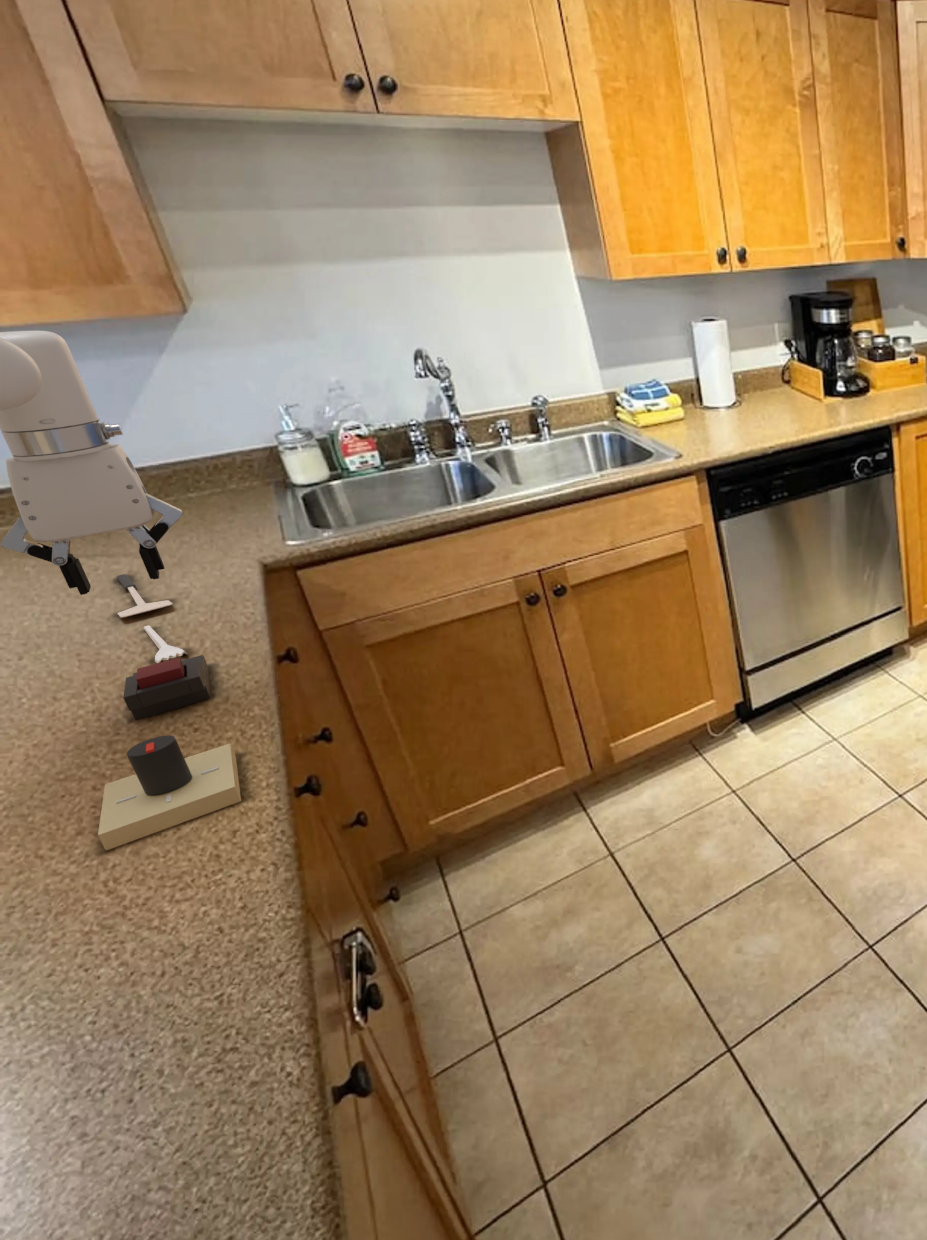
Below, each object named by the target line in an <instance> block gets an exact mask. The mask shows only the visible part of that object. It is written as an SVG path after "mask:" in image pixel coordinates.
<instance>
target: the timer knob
mask: <svg viewBox="0 0 927 1240" xmlns="http://www.w3.org/2000/svg"><path fill="white" fill-rule="evenodd" d="M126 756H127V758H128V760H129V763H130V765H131V766H132V769H133V771H134V773H135V774H136V775H137V777H138V779H139V781H140V783H141V786H142V788H143V790H144V792H145V794H146V795H149V796H156V795H161V794H165V793H168V792H171V791H174V790H176V789H178V788H180V787H182V786H184V785H185V784H187V783H188V782H189V781H190V780H191V779H192V774H191V772H190V770H189V768H188V765H187V763H186V761H185V759H184V758H185V756H184V754H183V752H182V749H181V748H180V745H179V743H178V741H177V739H176V737H175V736H174V735H170V734H169V735H161V736H160V735H159V736H156V737H152V738H149V739H147V740H144V741H141V742H139V743H136V744H135V745H134V746H133V745H132V747H130V748H129V749H128V750H127V752H126Z"/></svg>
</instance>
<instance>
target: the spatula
mask: <svg viewBox="0 0 927 1240" xmlns="http://www.w3.org/2000/svg"><path fill="white" fill-rule="evenodd" d="M116 579H117V581H119V583H120V584H121V586H122V587H123V589H124V590H128V592H129V593H130V595H131V597H132V598H133V601H134V602H135V604H136V605H134V606H132V607H130V608H127V609H124V610H122V611H119V612H117V613H116V614H117V615H118V616H119V618H121V619H122V618H127V617H131V616H134V615H138V614H143V613H146V612H151V611H154V610H157V609H162V608H165V607H169V606H172V605H174V603H173V602H172V601H170V600H169V599H167V600H166V599H165V600H159V601H153V602H146V601H145V600H144V599H143V598H142V596H141V595H140V594H139V592H138V591H137V590H136V584H135V583H134V582H133V580H132V579H131V578H130V576H129V575H128V574H127V573H126V574H125V573H124V574H119V575H117V576H116Z"/></svg>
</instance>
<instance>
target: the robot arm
mask: <svg viewBox="0 0 927 1240" xmlns="http://www.w3.org/2000/svg"><path fill="white" fill-rule="evenodd" d="M80 373H81V372H80V371H79V368H78V365H77V364H76V361H75V359H74V357H73V354H72V351H71V349H70V347H69V345H68V344H67V341H66V339H64V338H63V337H62V336H61V335H59V334H58V333H56V332H52V331H48V330H15V331H14V330H13V331H0V431H1V434H2V436H3V438H4V441H5V443H6V444H7V447H8V449H9V451H10V454H11V455H12V456H10V457H8V458H6V459H5V465H6V471H7V476H8V481H9V485H10V489H11V492H12V495H13V498H14V501H15V504H16V507H17V509H18V511H19V514H20V516H19V517H18V518H17V520H16V521H15V522H14V524H12V526H11V528H10V529H9V530H8V531H7V533H6V535H4V537H3V538H2V539H1V541H0V547H2V548H4V549H7V550H10V551H14V552H18V553H22V554H27V555H29V556H31V557H34V558H37V559H40V560H43V561H46V562H49V563H52V564H53V565H54V566H58V567H59V569H60V572H61V574H62V575H63V578H64V580H65V583H66V585H67V586H68V588H69V589H75V588H77V591H78V594H79V595H80V596H83V595H87V594H88V593H90V591H91V587H92V586H91V582H90V581H89V579H88V576H87V574H86V572H85V570H84V568H83V565H82V564H81V560H80V559H79V558H77V557H76V556H74V554H72V553H71V552H70V551H71V541H72V540H75V539H79V538H80V539H81V538H85V537H91V536H96V535H97V536H98V535H102V534H108V533H115V532H118V531H125V530H126V531H127V533H129V534H130V535H131V536H132V537H133V538H134V539H135V540H136V541H137V542H138V543H139V544H138V545H139V548H138V553H139V555H140V558H141V560H142V562H143V565H144V567H145V569H146V572H147V575H148V577H149V579H150V580H158V579H160V571H161V570H165V565H164V562H163V559H162V557H161V555H160V552H159V550H158V547H157V544H158V543H159V542H160V540H161V539H162V538H163V537H164V536H165V535H166V534H167V532H168V531H169V529H170V528H171V527H172V526H174V524H176V523H177V522H178V521H179V520H180V518H182V517H183V510H182V509H181V508H179V507H176V506H174V505H172V504H170V503H168V502H165V501H163V500H161V499H159V498H158V497H155V496H153V495H151V494H148V492H147V490H146V488H145V485H144V484H143V482H142V480H141V478H140V475H139V473H138V472H137V469H136V468H135V465H133V463H132V461H131V459H130V458H129V456H128V454H127V453H126V451H125V450H124V449H123V447H122V446H121V445H120V444H119V443H109V440H111V438H114V437H116V436H122V435H124V432H123V430H122V426H121V425H120V423H114V424H110V423H105V422H102V421H101V419H100V418H99V417H98V415H97V412H96V409H95V406H94V405H93V401H92V399H91V397H90V394H89V393H88V390H87V388H86V385H85V383H84V380H83V378H82V375H81V374H80ZM155 512H157V513H159V514H161V515H162V516H161V518H160V519H159V520H157V521H156V522H155V523H154V525H153V526H152V527H151V528H150V529H149V528H148V527H147V526H146V524H149V523H150V522H151V521H152V520H153V514H154V513H155ZM27 533H28V535H29V537H31V538H32V539H33V540H34V541H37V542H34V541H31V540H28V539H26V538H25V536H26V535H27ZM39 542H42V543H39ZM43 543H52V546H50V545H46V544H43Z"/></svg>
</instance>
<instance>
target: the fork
mask: <svg viewBox="0 0 927 1240" xmlns="http://www.w3.org/2000/svg"><path fill="white" fill-rule="evenodd" d="M143 630H144V631H145V633H146V634H147V635H148V636H149V638H150V639H151V640H152V642H153V643H154V644H155V646H156V648H158V651H157V652H156V654H155V656H154V662H155V664H157V663H160V662H164V661H168V660H172V659H176V658H180V657H183V656H184V654H185V655H188V653H187V652H186V651H185V650H184V649H183V648H180V647H177V646H173V645H169V644H168V643H167V642H166V641H165V640H164V639H163V638H162V637H161V636H160V635H159V634H158V633H157V632H156V631H155V630H154V628H153V627H152V626H151V625H149V624H148V625H145V626H143Z"/></svg>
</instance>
